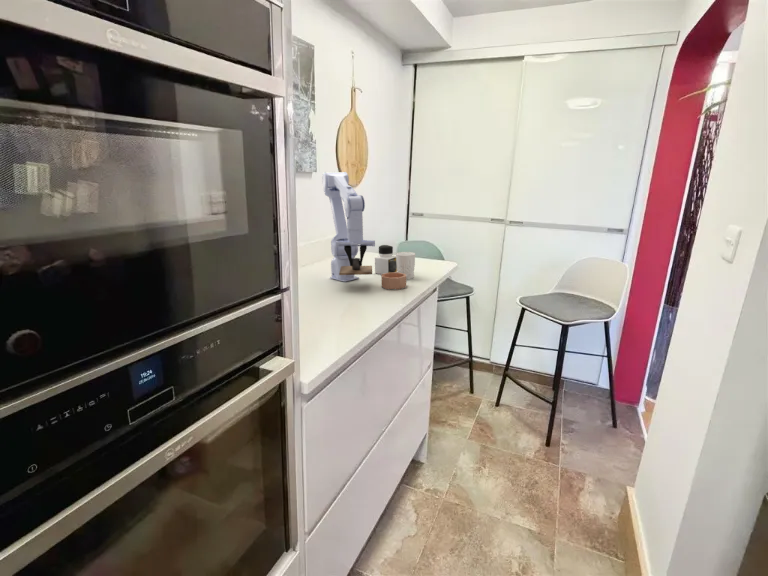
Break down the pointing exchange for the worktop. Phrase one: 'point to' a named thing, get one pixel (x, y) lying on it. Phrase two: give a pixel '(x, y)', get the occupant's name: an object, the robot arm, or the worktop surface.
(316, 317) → the worktop surface
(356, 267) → the lid
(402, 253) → the white cup
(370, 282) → the worktop surface
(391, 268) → the medicine bottle
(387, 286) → the bowl
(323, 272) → the worktop surface
